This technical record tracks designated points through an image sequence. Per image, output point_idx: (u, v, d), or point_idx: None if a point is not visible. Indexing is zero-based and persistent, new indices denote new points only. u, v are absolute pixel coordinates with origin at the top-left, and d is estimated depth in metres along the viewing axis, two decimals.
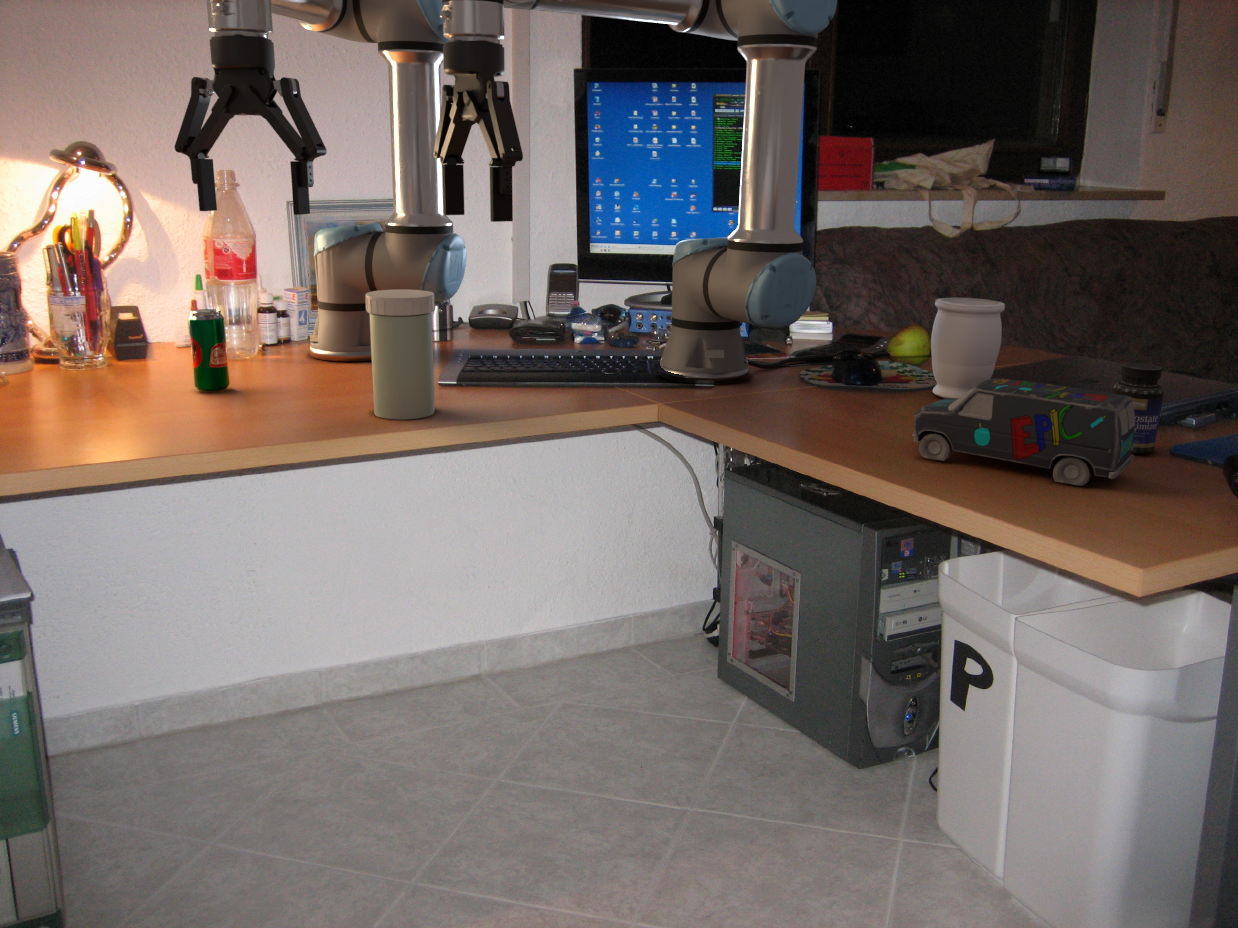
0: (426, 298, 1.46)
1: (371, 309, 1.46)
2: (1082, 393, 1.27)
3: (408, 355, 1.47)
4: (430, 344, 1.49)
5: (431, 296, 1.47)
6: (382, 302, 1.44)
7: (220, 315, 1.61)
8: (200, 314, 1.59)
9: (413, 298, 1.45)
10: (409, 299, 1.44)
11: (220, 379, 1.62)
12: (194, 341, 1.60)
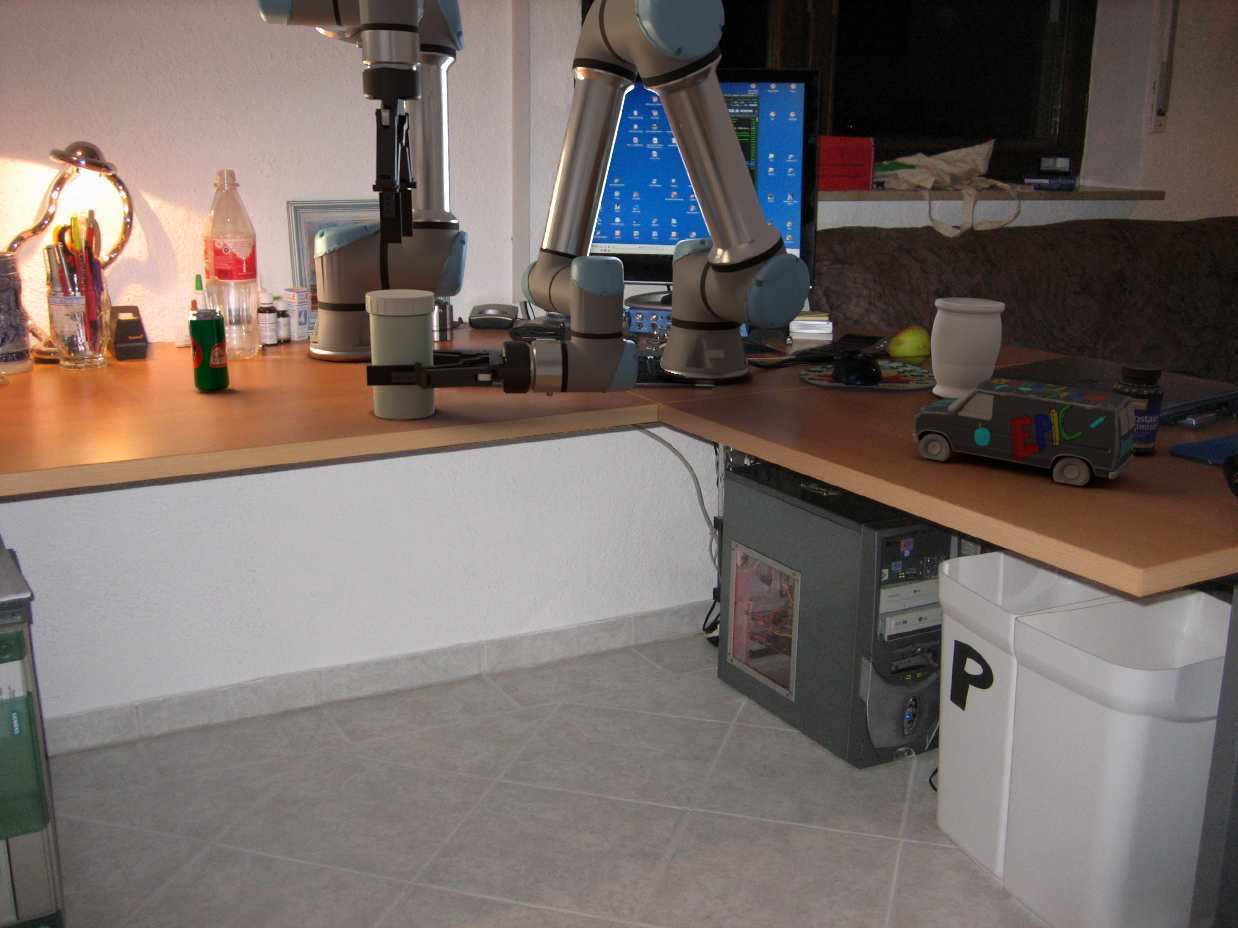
0: (426, 298, 1.46)
1: (371, 309, 1.46)
2: (1082, 393, 1.27)
3: (408, 355, 1.47)
4: (430, 344, 1.49)
5: (431, 296, 1.47)
6: (382, 302, 1.44)
7: (220, 315, 1.61)
8: (200, 314, 1.59)
9: (413, 298, 1.45)
10: (409, 299, 1.44)
11: (220, 379, 1.62)
12: (194, 341, 1.60)
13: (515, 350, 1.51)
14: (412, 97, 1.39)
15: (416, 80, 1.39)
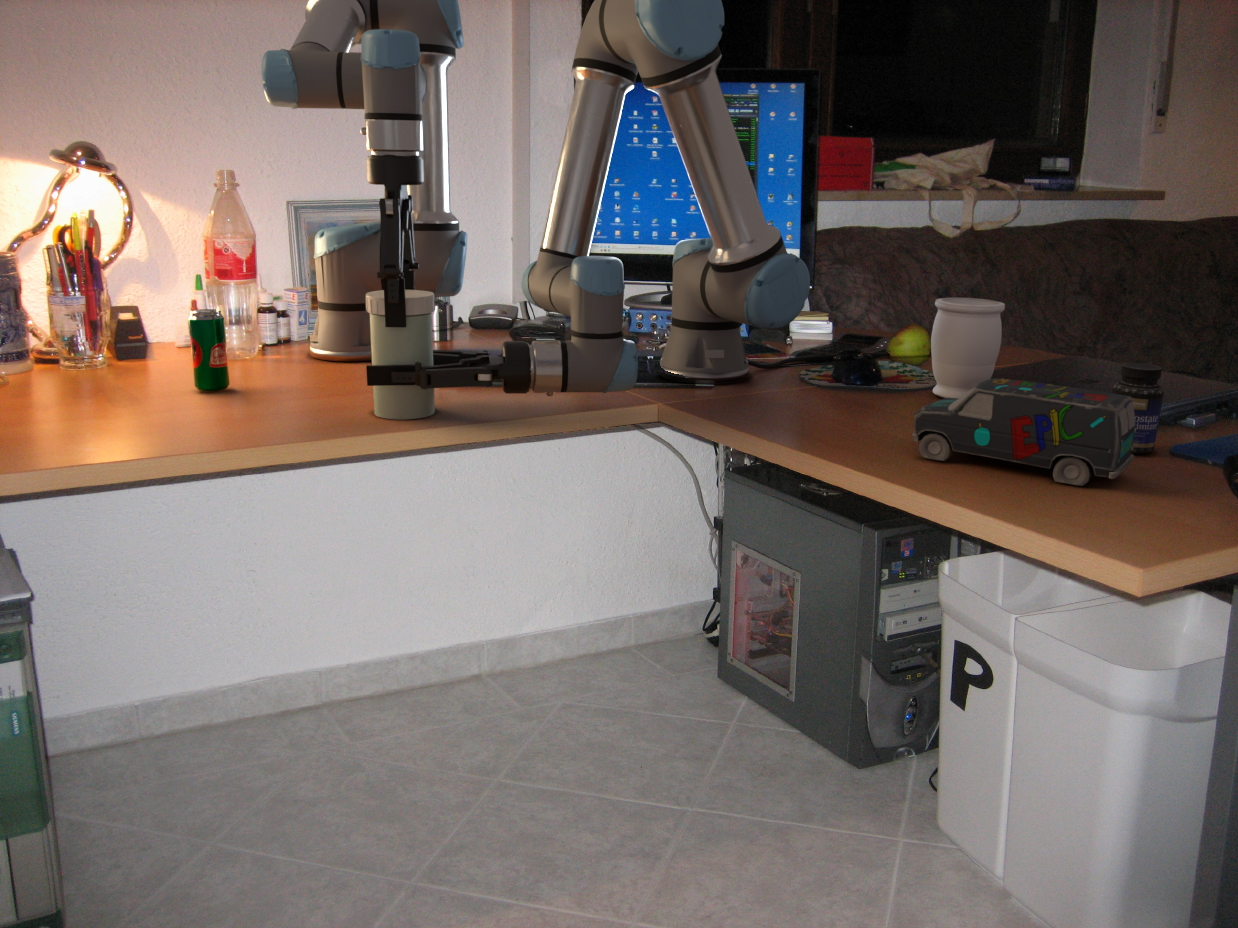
0: (426, 298, 1.46)
1: (371, 309, 1.46)
2: (1082, 393, 1.27)
3: (408, 355, 1.47)
4: (430, 344, 1.49)
5: (431, 296, 1.47)
6: (382, 302, 1.44)
7: (220, 315, 1.61)
8: (200, 314, 1.59)
9: (413, 298, 1.45)
10: (409, 299, 1.44)
11: (220, 379, 1.62)
12: (194, 341, 1.60)
13: (515, 350, 1.51)
14: (415, 183, 1.42)
15: (419, 166, 1.42)
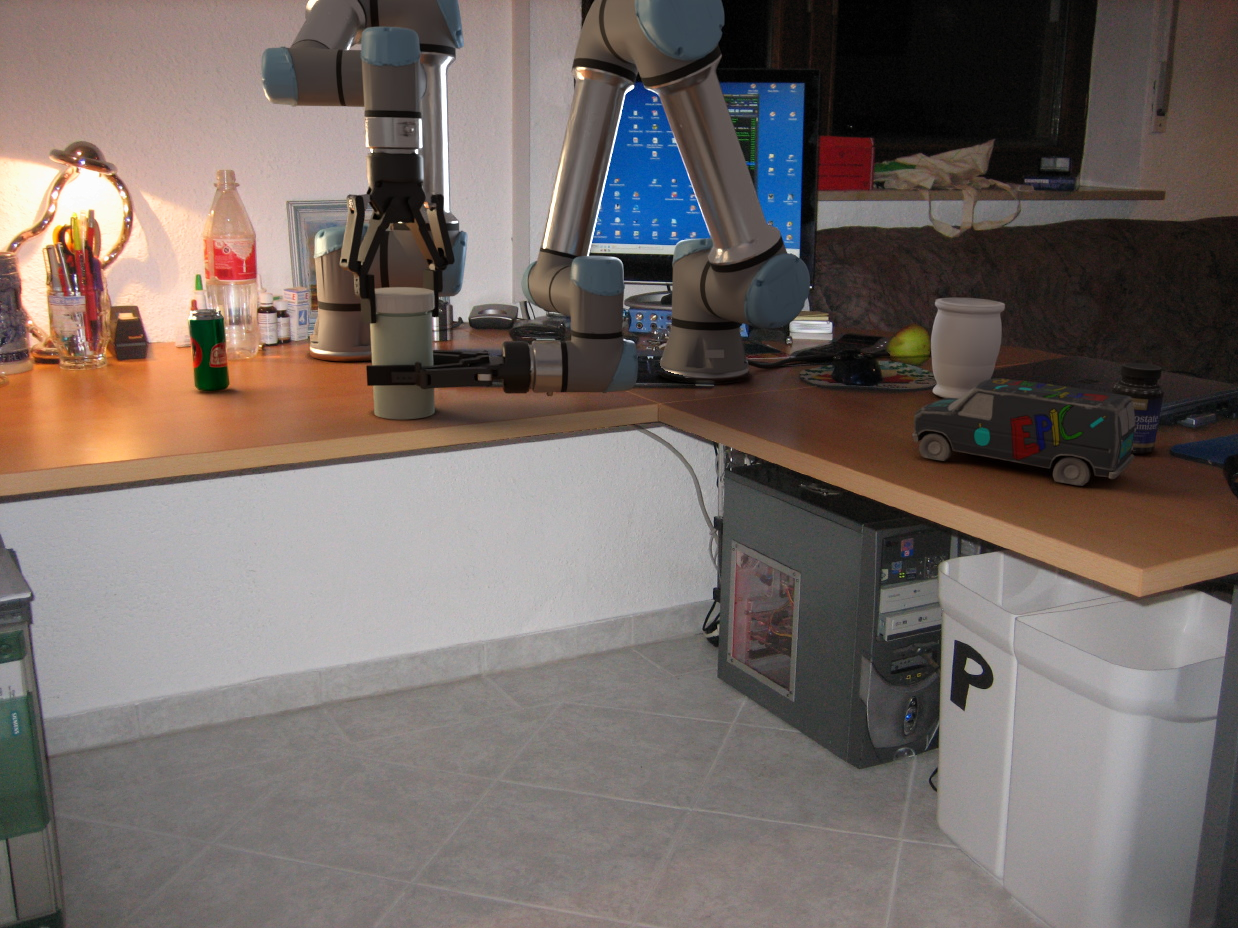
0: None
1: (432, 305, 1.48)
2: (1082, 393, 1.27)
3: (408, 355, 1.47)
4: (430, 344, 1.49)
5: (391, 288, 1.52)
6: None
7: (220, 315, 1.61)
8: (200, 314, 1.59)
9: None
10: (419, 289, 1.52)
11: (220, 379, 1.62)
12: (194, 341, 1.60)
13: (515, 350, 1.51)
14: None
15: None
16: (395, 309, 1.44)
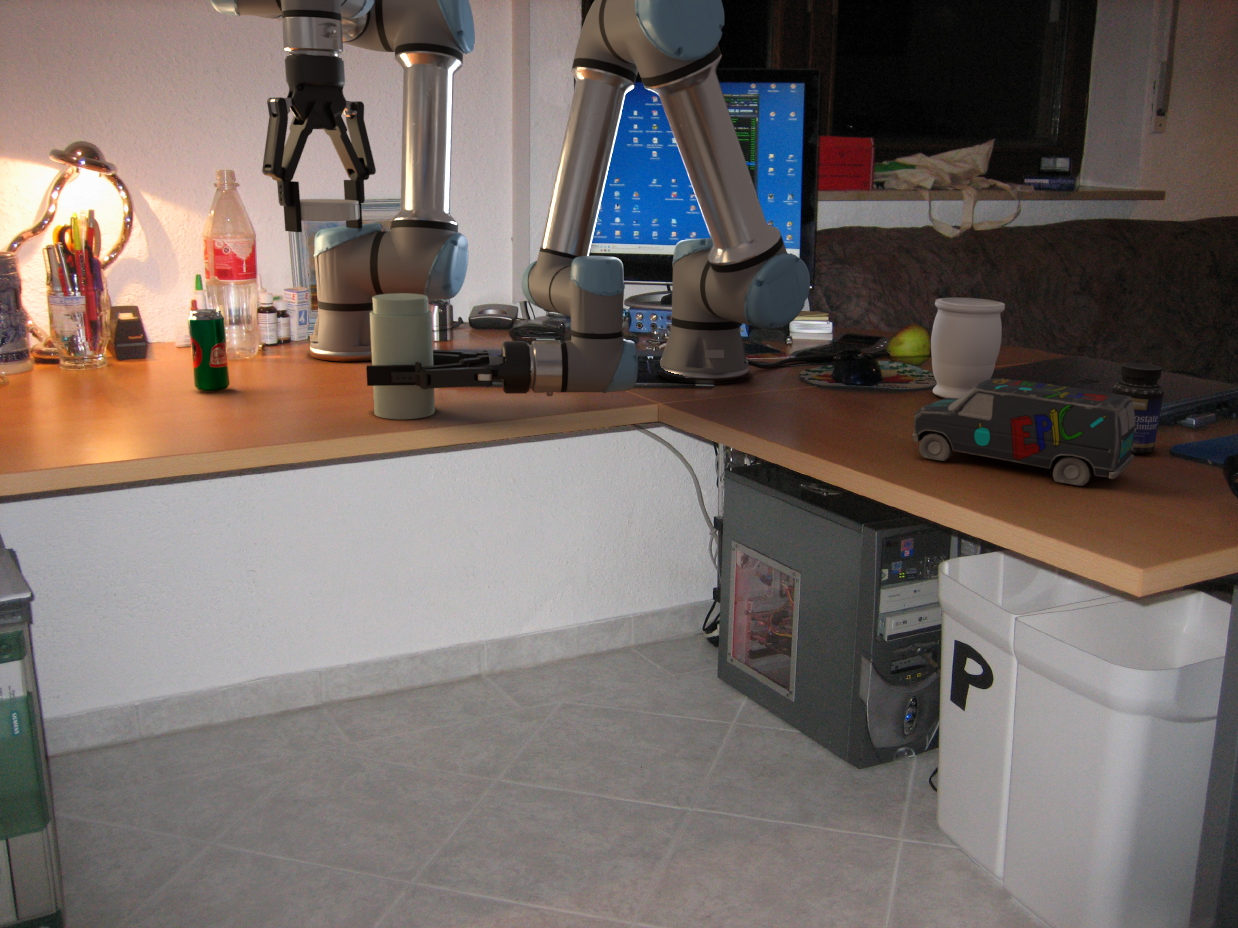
0: None
1: (358, 215, 1.46)
2: (1082, 393, 1.27)
3: (408, 355, 1.47)
4: (430, 344, 1.49)
5: None
6: None
7: (220, 315, 1.61)
8: (200, 314, 1.59)
9: (336, 200, 1.50)
10: None
11: (220, 379, 1.62)
12: (194, 341, 1.60)
13: (515, 350, 1.51)
14: None
15: None
16: (322, 217, 1.42)
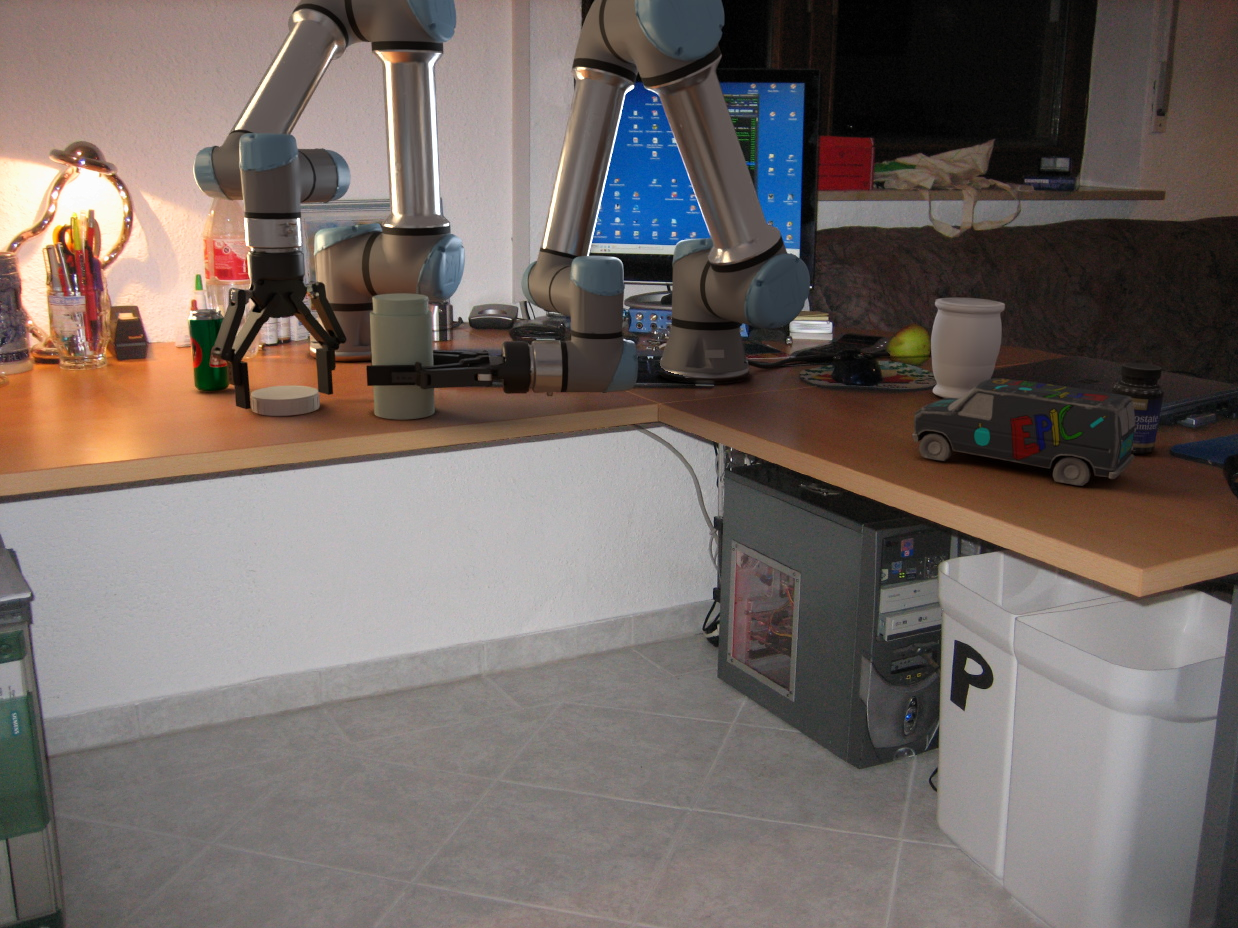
0: None
1: (317, 405, 1.54)
2: (1082, 393, 1.27)
3: (408, 355, 1.47)
4: (430, 344, 1.49)
5: None
6: None
7: (220, 315, 1.61)
8: (200, 314, 1.59)
9: (300, 386, 1.58)
10: None
11: (220, 379, 1.62)
12: (194, 341, 1.60)
13: (515, 350, 1.50)
14: None
15: None
16: (281, 412, 1.50)
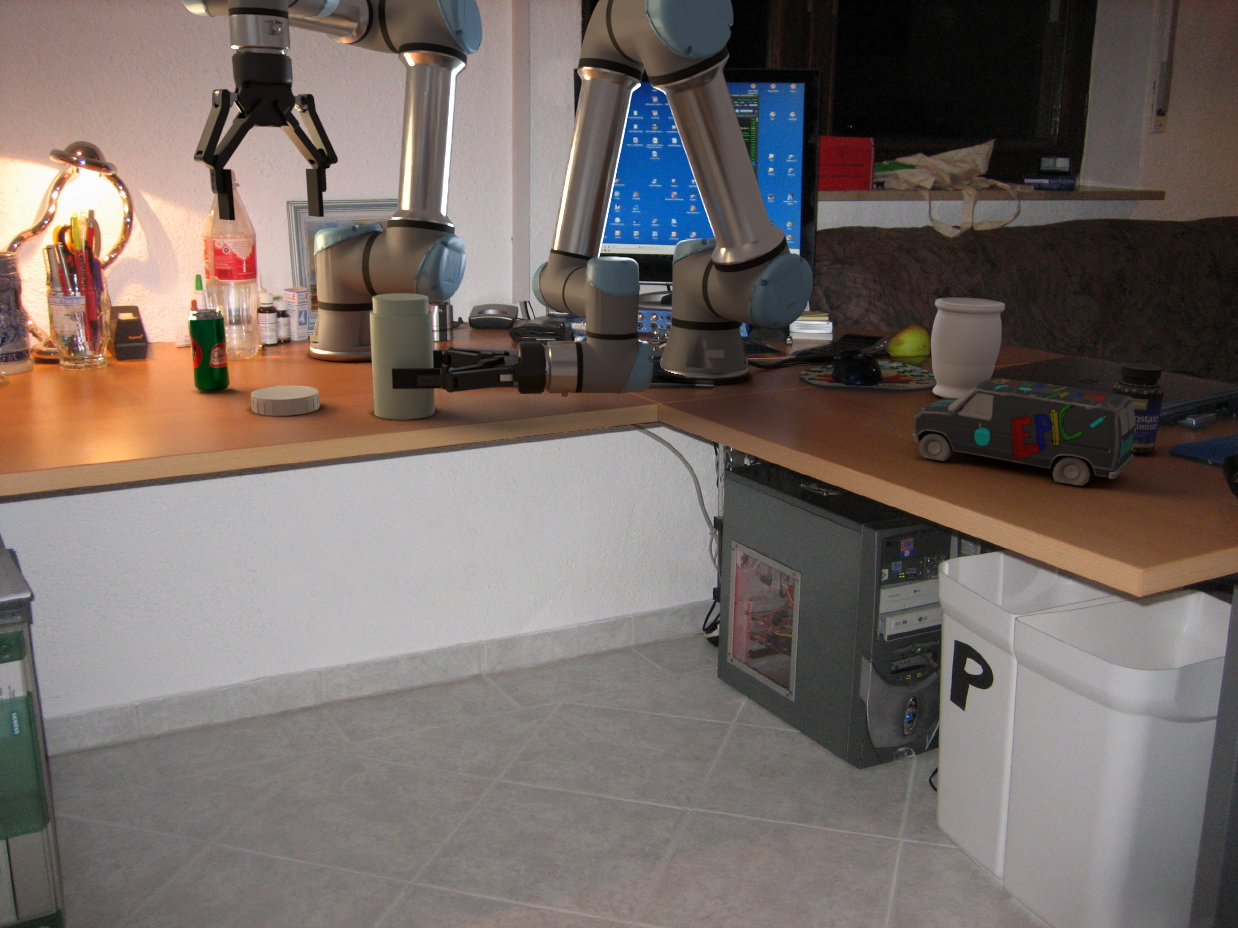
0: None
1: (317, 405, 1.54)
2: (1082, 393, 1.27)
3: (408, 355, 1.47)
4: (430, 344, 1.49)
5: None
6: None
7: (220, 315, 1.61)
8: (200, 314, 1.59)
9: (300, 386, 1.58)
10: None
11: (220, 379, 1.62)
12: (194, 341, 1.60)
13: (530, 351, 1.51)
14: None
15: None
16: (281, 412, 1.50)
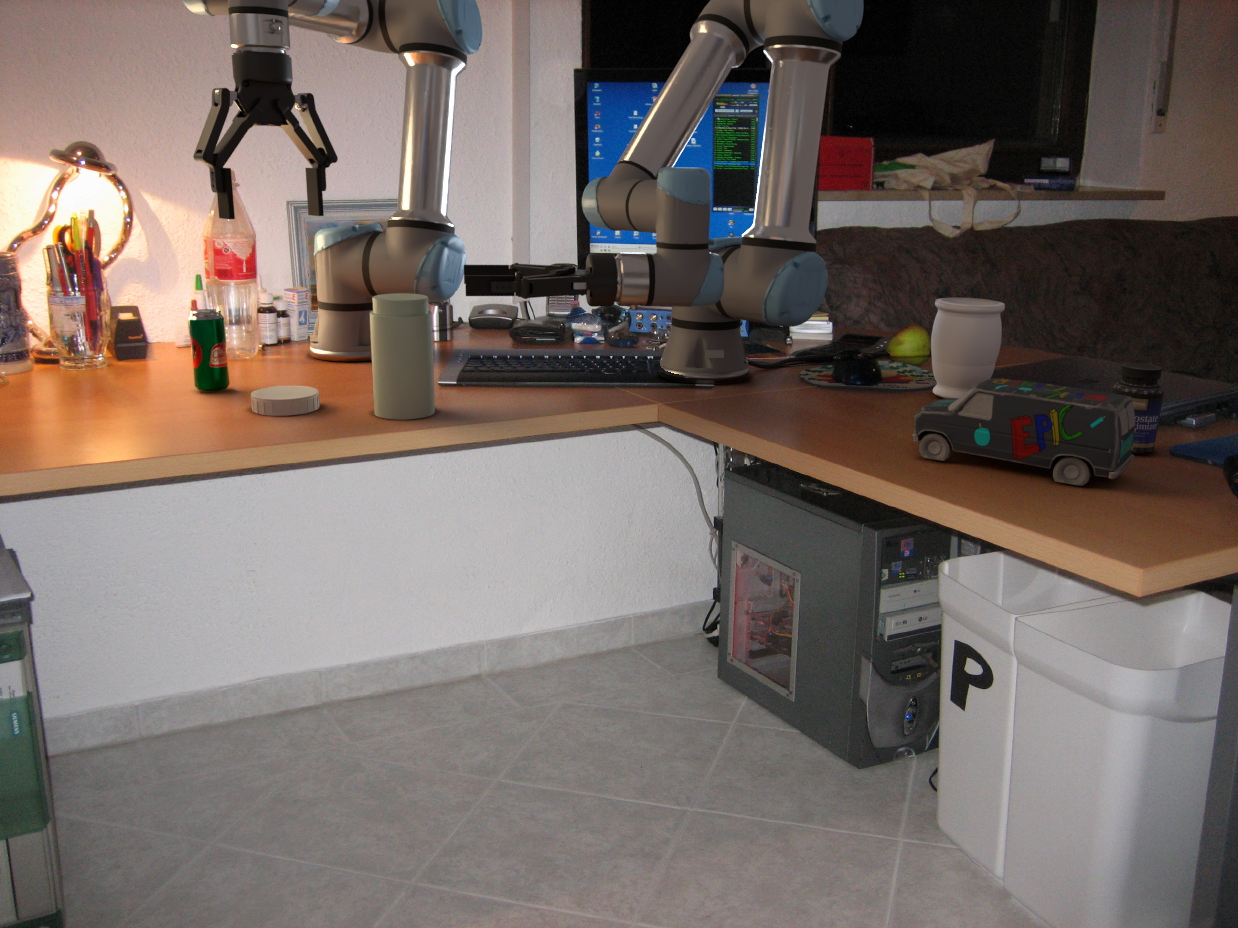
0: None
1: (317, 405, 1.54)
2: (1082, 393, 1.27)
3: (408, 355, 1.47)
4: (430, 344, 1.49)
5: None
6: None
7: (220, 315, 1.61)
8: (200, 314, 1.59)
9: (300, 386, 1.58)
10: None
11: (220, 379, 1.62)
12: (194, 341, 1.60)
13: (602, 261, 1.49)
14: None
15: None
16: (281, 412, 1.50)
